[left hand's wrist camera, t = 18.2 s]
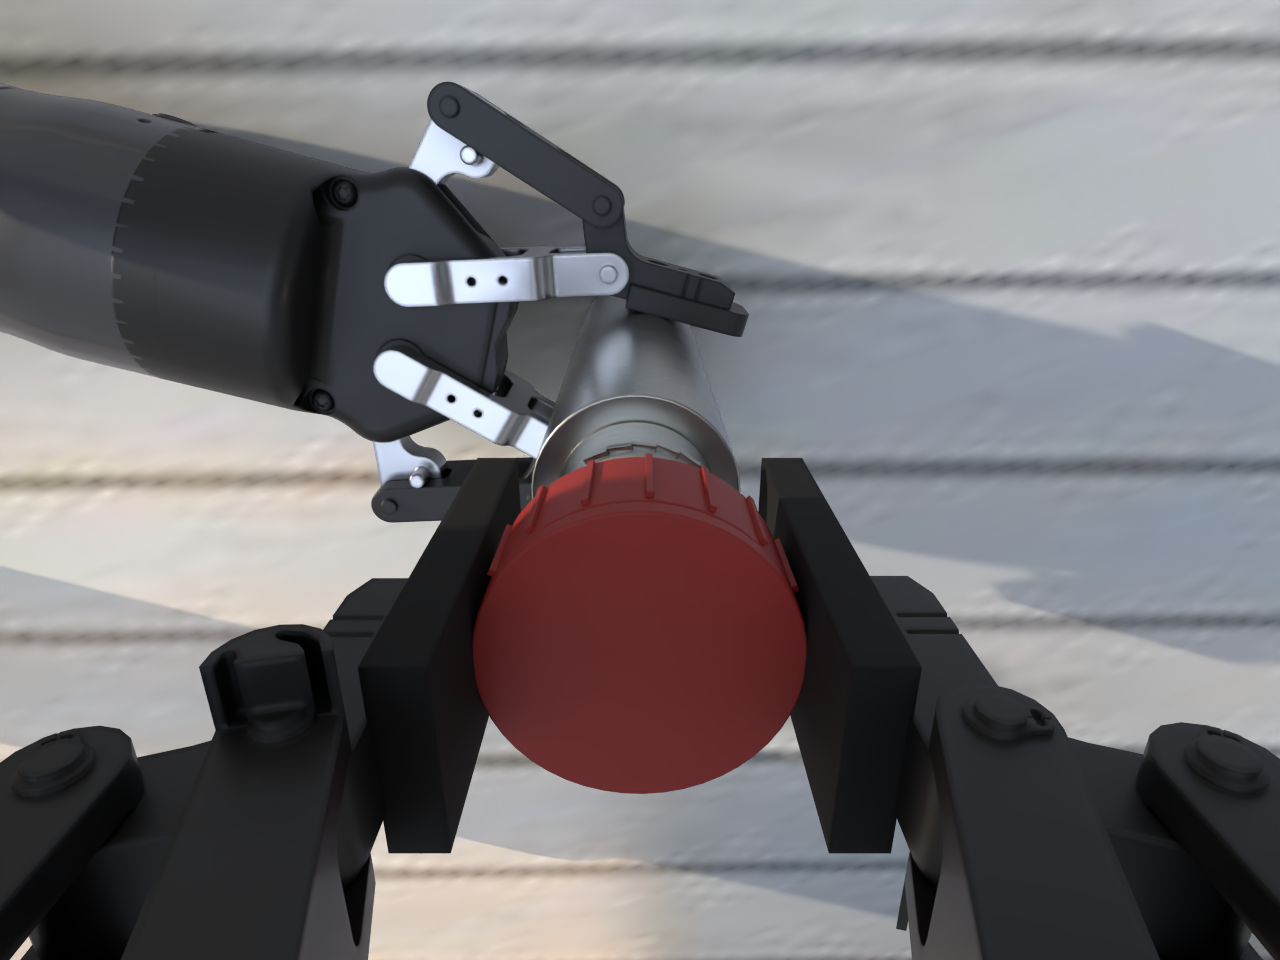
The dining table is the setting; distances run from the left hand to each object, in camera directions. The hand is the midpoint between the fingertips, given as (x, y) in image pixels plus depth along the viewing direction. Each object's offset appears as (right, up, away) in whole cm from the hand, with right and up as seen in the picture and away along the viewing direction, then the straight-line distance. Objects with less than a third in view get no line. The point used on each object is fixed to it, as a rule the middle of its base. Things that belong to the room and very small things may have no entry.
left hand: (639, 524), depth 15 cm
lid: (0, -2, -4) cm, 4 cm away
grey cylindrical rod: (0, +7, +16) cm, 17 cm away
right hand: (+2, +4, +10) cm, 11 cm away
